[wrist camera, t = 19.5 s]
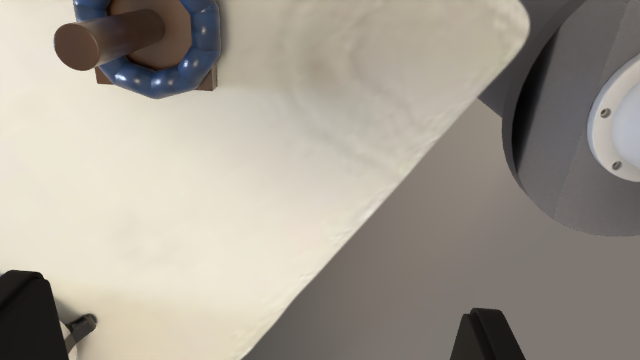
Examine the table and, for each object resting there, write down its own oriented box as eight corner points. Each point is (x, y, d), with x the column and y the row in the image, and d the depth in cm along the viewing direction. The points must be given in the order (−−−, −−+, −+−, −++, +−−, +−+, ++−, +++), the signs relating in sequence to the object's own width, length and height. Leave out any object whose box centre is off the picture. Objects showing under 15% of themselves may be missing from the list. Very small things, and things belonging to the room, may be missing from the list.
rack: (211, -38, 31) (153, -44, 20) (217, 86, 35) (170, 134, 24) (86, -46, 31) (-37, -57, 20) (105, 79, 34) (11, 124, 24)
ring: (219, -51, 29) (212, -53, 27) (225, 98, 34) (220, 106, 32) (71, -60, 29) (54, -63, 27) (97, 91, 33) (85, 98, 32)
